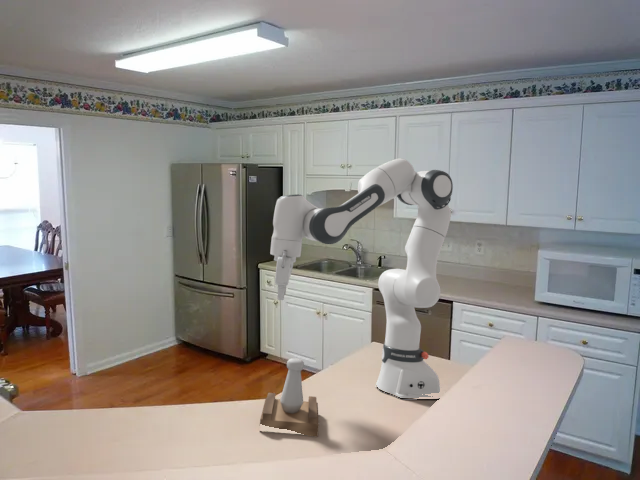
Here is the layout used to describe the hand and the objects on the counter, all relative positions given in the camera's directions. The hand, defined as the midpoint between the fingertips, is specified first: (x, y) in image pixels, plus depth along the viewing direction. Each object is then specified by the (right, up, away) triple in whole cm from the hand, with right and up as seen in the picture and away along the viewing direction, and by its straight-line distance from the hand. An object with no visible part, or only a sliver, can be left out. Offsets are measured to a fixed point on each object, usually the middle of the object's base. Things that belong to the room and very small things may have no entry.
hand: (281, 297), depth 135 cm
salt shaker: (+4, -27, -17) cm, 32 cm away
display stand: (+3, -30, -17) cm, 34 cm away
